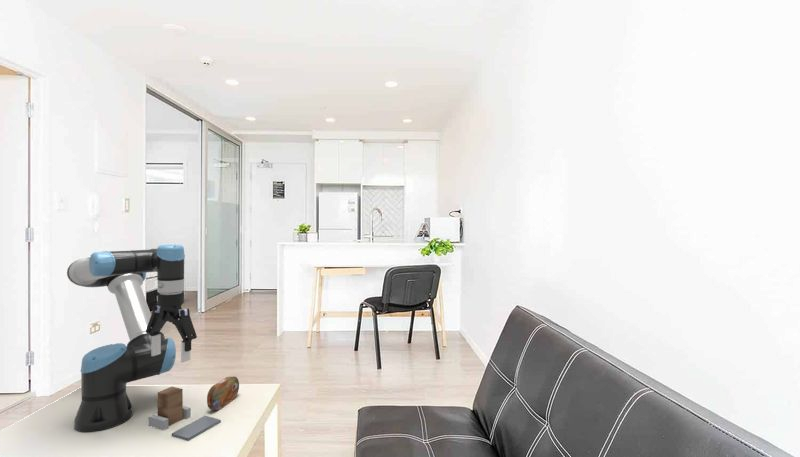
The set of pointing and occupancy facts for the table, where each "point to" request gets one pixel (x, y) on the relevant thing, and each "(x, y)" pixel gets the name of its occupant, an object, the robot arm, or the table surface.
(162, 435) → the table surface
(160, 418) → the cradle
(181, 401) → the walnut block
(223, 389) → the tin
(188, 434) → the slate plate
